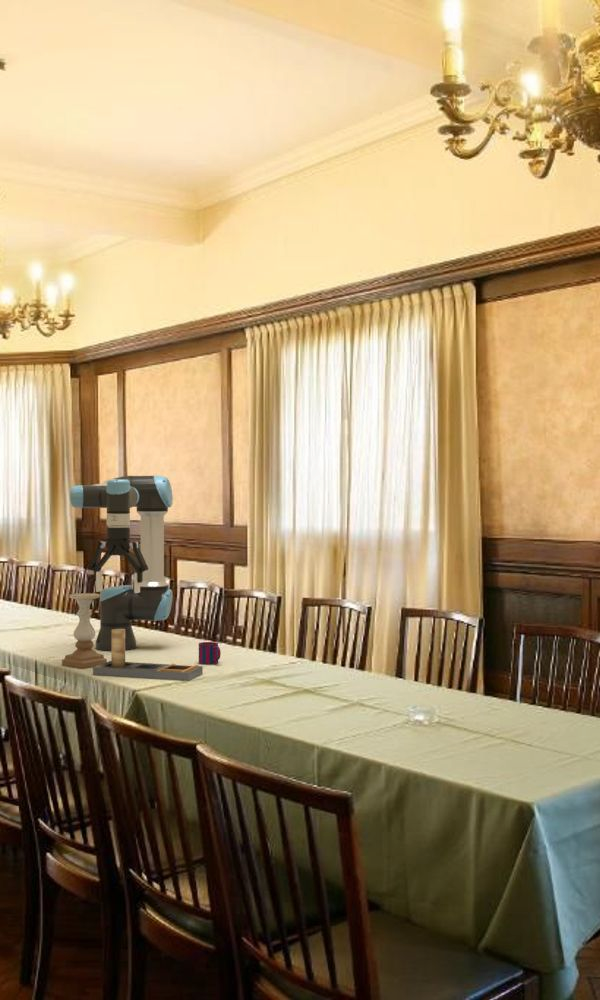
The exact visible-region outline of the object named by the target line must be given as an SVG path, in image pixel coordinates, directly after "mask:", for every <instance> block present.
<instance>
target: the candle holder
mask: <svg viewBox="0 0 600 1000" xmlns="http://www.w3.org/2000/svg"><path fill="white" fill-rule="evenodd" d="M68 597H69V598H70V599H73V600H76V603H77V604H78V611H77V612H76V615H77V617H78V619H79V622H78V623H77V626H76V627H75V628H74V631H73V637H74V639H75V640H77V641H76V642H75V646H74V647H76V649H75V650H74V651H73V652H72V653H70V654H66V655H65V656H64V658H63V659H61V665H62V666H65V667H70V668H76V669H88V668H93V667H95V666H98V665H100V664H103V663H106V662H108V660H107V658H105V656H104V654H101V653H98V652H96V650H94V649H93V648H94V646H95V644H94V642H93V641H92V640H93V639H94V638H95V636H96V630H95V629H94V627H93V625H92V623H91V621H90V619H91V617H92V615H93V612H92V610H91V605H92V603H93V601H94V599H99V598H101V594H100V593H90V592H87V593H86V592H83V593H80V592H79V593H72V594H71V593H70V594H69V596H68Z"/></svg>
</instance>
